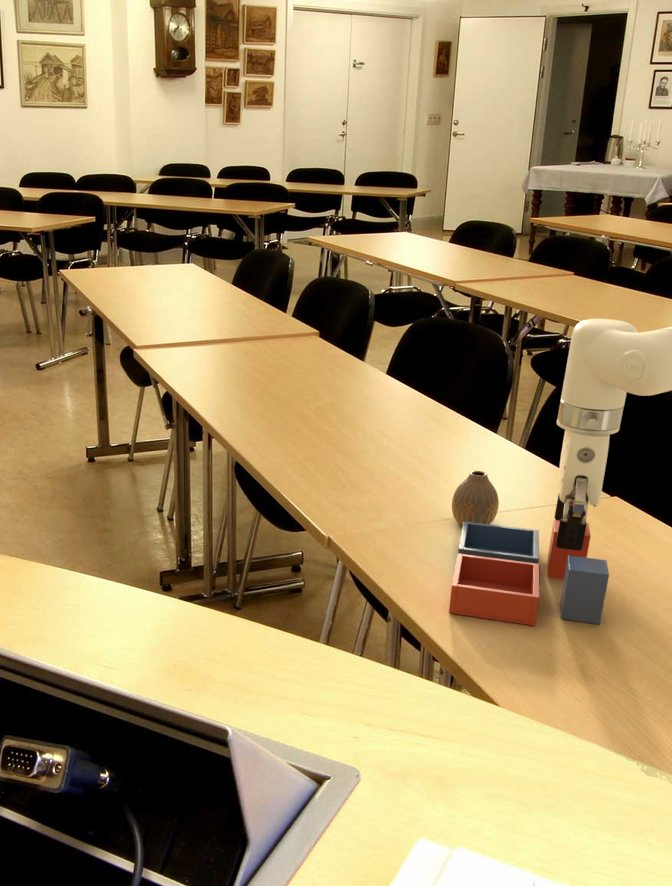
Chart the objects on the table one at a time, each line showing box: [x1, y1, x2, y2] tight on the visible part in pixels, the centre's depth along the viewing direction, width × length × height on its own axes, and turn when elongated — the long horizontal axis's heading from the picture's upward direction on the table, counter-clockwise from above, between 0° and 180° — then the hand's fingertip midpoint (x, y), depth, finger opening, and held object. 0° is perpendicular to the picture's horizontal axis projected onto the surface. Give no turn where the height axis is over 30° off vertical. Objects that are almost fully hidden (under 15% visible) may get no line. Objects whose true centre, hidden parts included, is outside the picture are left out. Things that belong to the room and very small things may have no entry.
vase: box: [451, 470, 500, 528], centre depth 143 cm, size 7×7×9 cm
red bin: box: [448, 553, 540, 627], centre depth 120 cm, size 10×10×4 cm
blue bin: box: [457, 522, 540, 564], centre depth 130 cm, size 10×10×4 cm
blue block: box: [559, 556, 610, 625], centre depth 116 cm, size 4×4×7 cm
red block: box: [546, 519, 592, 580], centre depth 126 cm, size 4×4×7 cm
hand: (567, 534), depth 126 cm, fingers open, 9 cm apart
